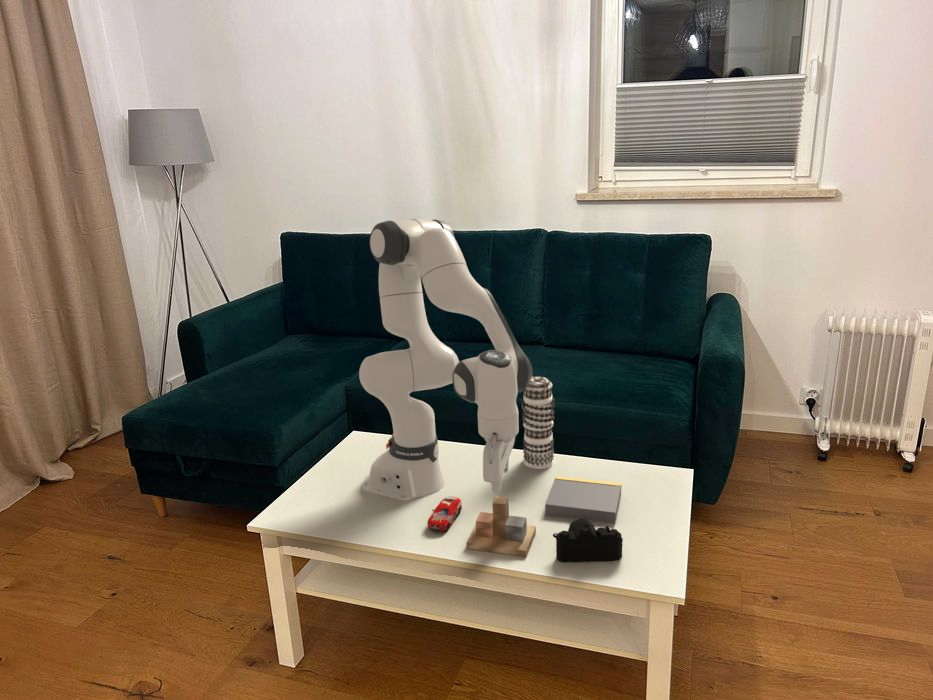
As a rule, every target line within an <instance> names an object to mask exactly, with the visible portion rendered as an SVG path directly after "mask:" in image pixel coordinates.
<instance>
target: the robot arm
mask: <svg viewBox="0 0 933 700" xmlns="http://www.w3.org/2000/svg"><path fill="white" fill-rule="evenodd" d="M368 243H369V251H370V253H371V254H372V256H373V258H374V260H375V261H377V262H378V263H379V265H378V266H379V267H378V294H379V296H378V297H379V304H380V313H381V320H382V325H383V328H384V329H385V330H386V331H387V332H388V333H390V334H392V335H394V336H397V337H399V338H402V339H403V338H404V339H405V340H406V341H407V342H408V344H409V348H407V349H397V350H392V351H391V350H388V351H383V352H378V353H375V354H373V355H368V356H367V357H365V358H364V359H363V360H362V362H361V364H360V367H359V372H358V378H359V381H360V384H361V386H362V387H363V389H364V390H365V391H366V392H367V393H368V394H370V395H372V396H374V397H375V398H377V399H378V400H380V401H381V402H382V403H383V404H384V407H386V409H387V410H388V412H389V416H390V419H391V423H392V431H393V433H391V437H390V438H389V439H388V441H387V443H386V445H385V449H386V451H385V452H383V453H381V454H380V455H378V457H376V459H375V460H374V461H373V462H372V464H371V466H370V469H369V473H368V474H367V475H366V477H365V478H364V479H363V481H362V484H361V490H362V491H363V492H365V493H369V494H375V495H379V496H382V497H385V498H386V497H387V498H390V499H395V500H400V501H403V502H411V501H413V500H415V499H418V498H423V497H427V496H431V495H434V494H437V493H439V492H440V491H441V490H442V489H443V488H444V487H445V485H446V481H445V478H444V476H443V473H442V471H441V470H442V469H441V467H440V462H439V461H440V460H439V451H440V450H439V443H438V435H437V433H436V422H435V420H436V419H435V412H434V409H433V408H432V407H431V405H429V404H428V403H426V402H424V401H423V400H420V399H417V398H414V397H411V396H410V394H411V393H413V392H419V391H425V390H433V389H438V388H442V387H445V386H448V385H451V384H452V387H453V391H454V393H455V394H456V395H457V396H459V398H461V399H463V400H465V402H466V401H467V402H468V403H472V404H476V405H477V406H478V407H477V426H478V427H477V429H478V434H479V435H480V436H481V437H482V438H483V439H484V441H485V442H486V443H485V445H484V447H483V452H482V478H483V481H484V482H485V483H489V484H491V492H492V493H493V494H500V493H501V490H502V483H501V480H502V478H503V475H504V474H505V473H508V472H509V462H510V461H509V460H510V456H511V453H512V452H513V451H512V450H513V448H514V445H515V441H516V437H517V435H518V433H519V430H520V428H519V427H520V426H519V425H520V423H519V409H518V405H517V398H518V394H519V393H522V392H524V390H525V388H526V387H527V386H528V384H529V382H530V380H531V378H532V377H533V367H532V364H531V362H530V359H529V357H528V356H527V355H526V353H525V352H524V351H523V349H522V348H521V347H520V345H519V343H518V341H517V340H516V337H515V336H514V334H513V331H512V330H511V327H510V326H509V324H508V321H507V320H506V317H504V315H503V313H502V310H501V309H500V307H499V305H498V303H497V302H496V300H495V298H494V296H493V295H492V293H491V291H490V290H488V289H487V288H485V287H484V286H483V287H482V286H481V285H480V284H479V283H478V282H477V281H476V279H475V278H474V277H473V276H472V274H471V273H470V271H469V268H468V265H467V262H466V259H465V257H464V254H463V252H462V250H461V248H460V246H459V243H458V241H457V240H456V238H455V233H454V230H453V228H452V226H451V225H450V224H449V223H447V222H445V221H443V220H440V219H425V218H423V219H422V218H410V219H402V220H385V221H382V222H379V223H376V224H375V225H374V226H373V228H372V230H371V233H370V235H369V242H368ZM422 285H423V286H422ZM422 287H423V288H424V290H425V291H424V292H425V294H426V296H427V298H428V299H429V301H430V302H431V303H432V304H433V305H434V306H436V307H437V308H439V309H440V310H443V311H444V312H450V313H454V314H455V313H456V314H460V315H464V316H468V317H471V318H473V319H476V320H477V321H479V322H480V324H481V325H482V326H483V327H484V330H485V332H486V334H487V335H488V338H489V339H490V341H491V343H492V345H493V347H494V349H487V350H485V351H483V352H481V353H480V354H478V356H474V357H470V358H466V359H463V360H459V357H458V355H457V354H456V353H455V351H454V350H453V349H452V348H451V347H449V346H447V345H446V344H445V343H443V342H442V341H440V339H439V338H438V337H437V336H436V335H435V333H434V332H433V331H432V329H431V327H430V325H429V322H428V317H427V315H426V308H425V302H424V293H423V288H422Z"/></svg>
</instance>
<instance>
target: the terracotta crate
mask: <svg viewBox="0 0 933 700" xmlns="http://www.w3.org/2000/svg"><path fill="white" fill-rule="evenodd" d="M475 525H476V536H480V537H487V538H493V537H494V534H493V512H484V511H480V512H479V514H478V515H477V518H476V520H475Z"/></svg>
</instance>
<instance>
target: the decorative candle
mask: <svg viewBox="0 0 933 700" xmlns="http://www.w3.org/2000/svg"><path fill="white" fill-rule="evenodd" d="M552 388H553V383H552V382H551V381H550V380H549V379H548V378H546V377H544V376H540V375H539V376H537V375H536V376H532V378H531V380H530V382H529V384H528V386H527V387H526V388H525V390H524V391H523V398H521V399H520V402H521V410H522V411H521V414H522V421H523V422H522V426H523V427H524V433H523V435H524V437H523V440H522V441H523V450H522V453H523V464H524V465H525V466H526V467H529V468H530V469H535V470H543V469H548V468H550V467H552V466H553V465H554V457H555V454H554V452H555V451H554V448H555V447H554V446H555V445H554V441H555V440H554V438H553V432H552V431H553V429H552V428H553V427H554V419H555V416H554V415H555V410H553V409H554V408H555V407H556V406H555V405H556V404H555V402H556V401H555V400H556V399H555V398H554V397H553V393H552V391H553V390H552Z"/></svg>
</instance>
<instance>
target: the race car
mask: <svg viewBox="0 0 933 700" xmlns="http://www.w3.org/2000/svg"><path fill="white" fill-rule="evenodd" d="M462 504H463V503H462V500H461V499H460V498H459V497H457V496H446V497H444V498H442V499H441V501H439V503H438V505H436V507H435V508H434V509H431V511H432V513H431V515H430V517H428V519H427V523H426V524H427V528H428V529H430V530H433V531H437V532H438V531H439V532H442V531H449V529H450V526H451V525H452V524H453V522H454V521H455V520H456V519H457V517H458V516H459V515H460V514H461V512H462V509H463V507H462Z"/></svg>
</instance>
